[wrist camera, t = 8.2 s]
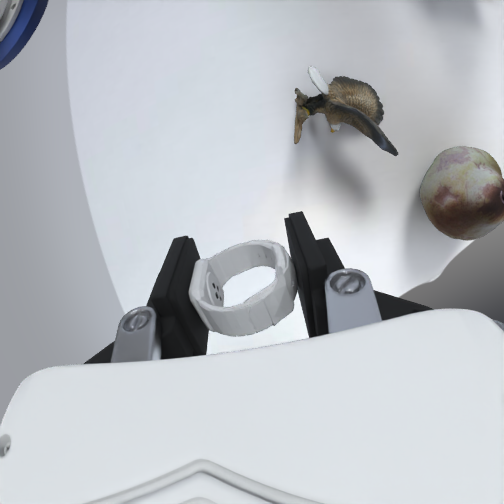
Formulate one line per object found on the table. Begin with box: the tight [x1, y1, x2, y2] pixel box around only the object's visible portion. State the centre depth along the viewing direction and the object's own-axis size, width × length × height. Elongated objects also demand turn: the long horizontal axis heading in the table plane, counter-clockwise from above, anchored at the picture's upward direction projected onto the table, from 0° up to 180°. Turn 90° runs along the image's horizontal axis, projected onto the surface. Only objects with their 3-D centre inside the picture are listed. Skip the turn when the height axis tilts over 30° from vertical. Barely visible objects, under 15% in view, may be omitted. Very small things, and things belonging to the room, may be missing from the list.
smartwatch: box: [189, 240, 297, 337], centre depth 10 cm, size 4×2×4 cm, turn 109°
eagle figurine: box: [294, 66, 398, 156], centre depth 21 cm, size 8×7×9 cm
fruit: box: [420, 146, 504, 240], centre depth 22 cm, size 10×9×12 cm
